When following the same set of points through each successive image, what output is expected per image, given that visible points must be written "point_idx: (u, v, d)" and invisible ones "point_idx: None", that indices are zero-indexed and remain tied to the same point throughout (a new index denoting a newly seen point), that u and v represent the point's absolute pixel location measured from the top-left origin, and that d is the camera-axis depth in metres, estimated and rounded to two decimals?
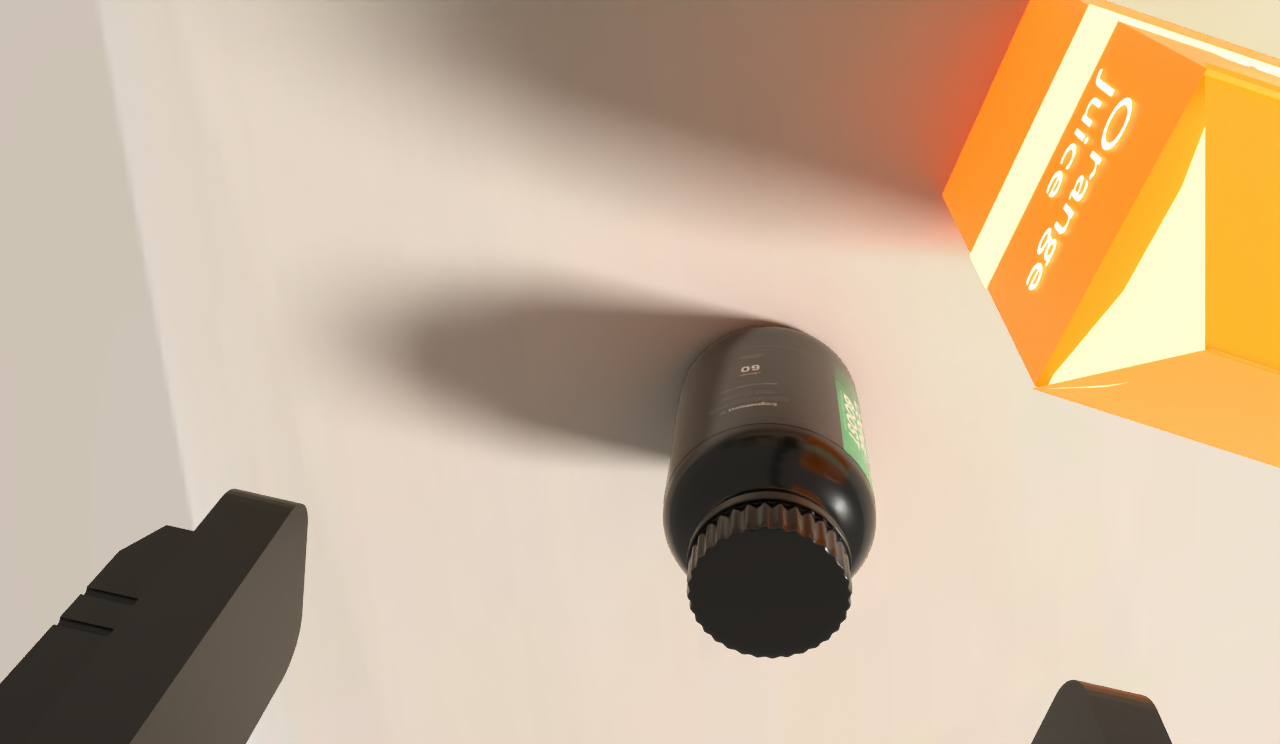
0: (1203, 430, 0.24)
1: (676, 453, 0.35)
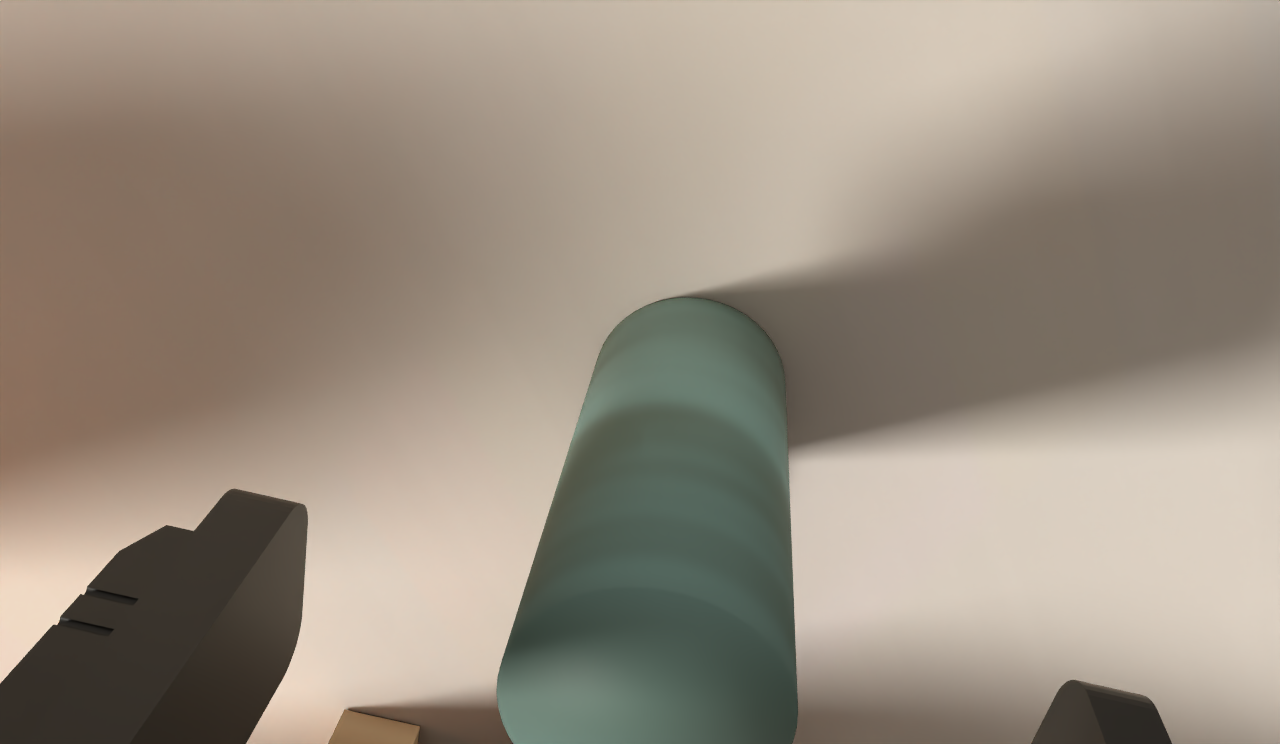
0: None
1: None
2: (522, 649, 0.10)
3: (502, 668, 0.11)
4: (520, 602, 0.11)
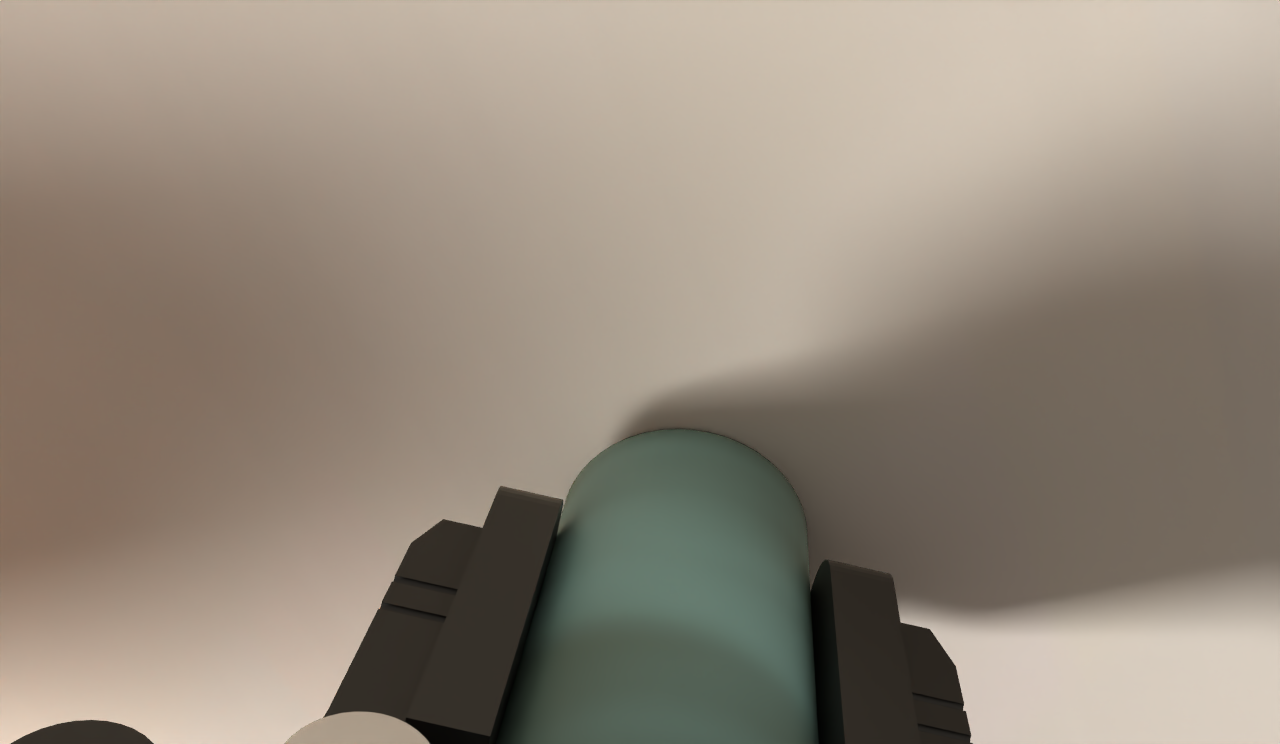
0: None
1: None
2: None
3: None
4: None
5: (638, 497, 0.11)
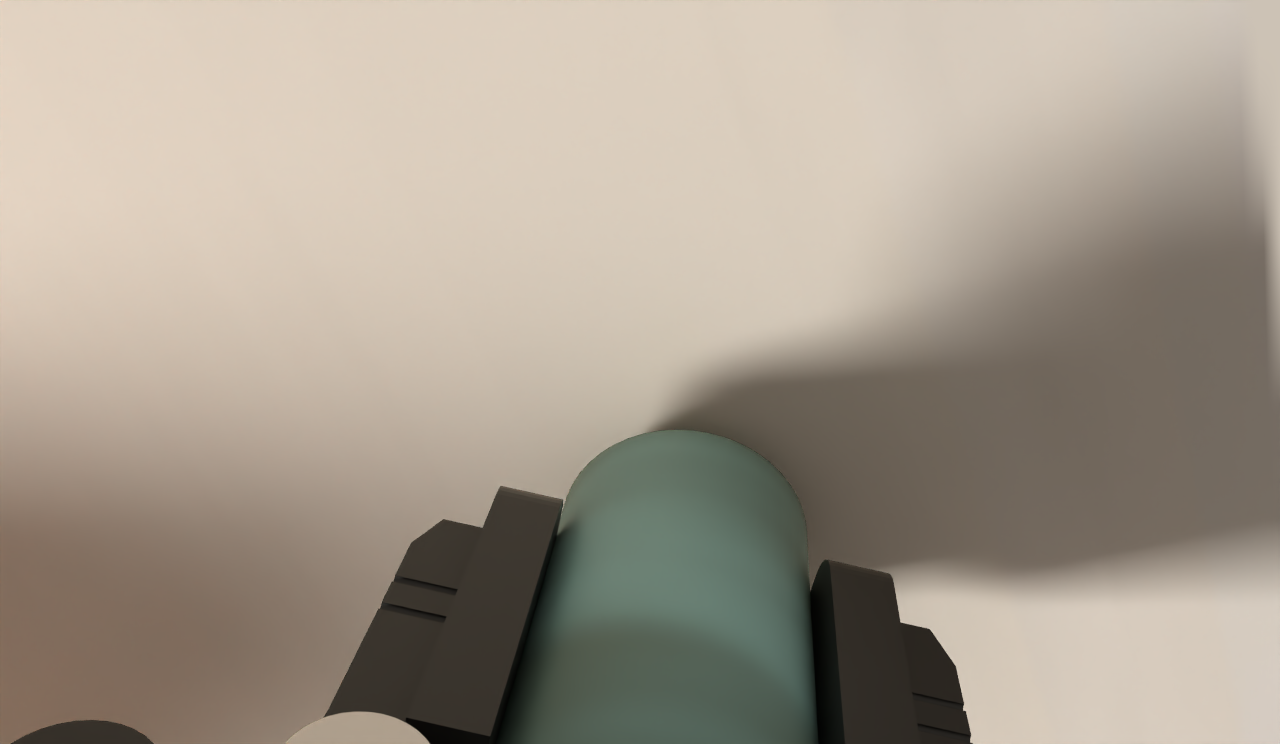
0: None
1: None
2: None
3: None
4: None
5: (638, 497, 0.11)
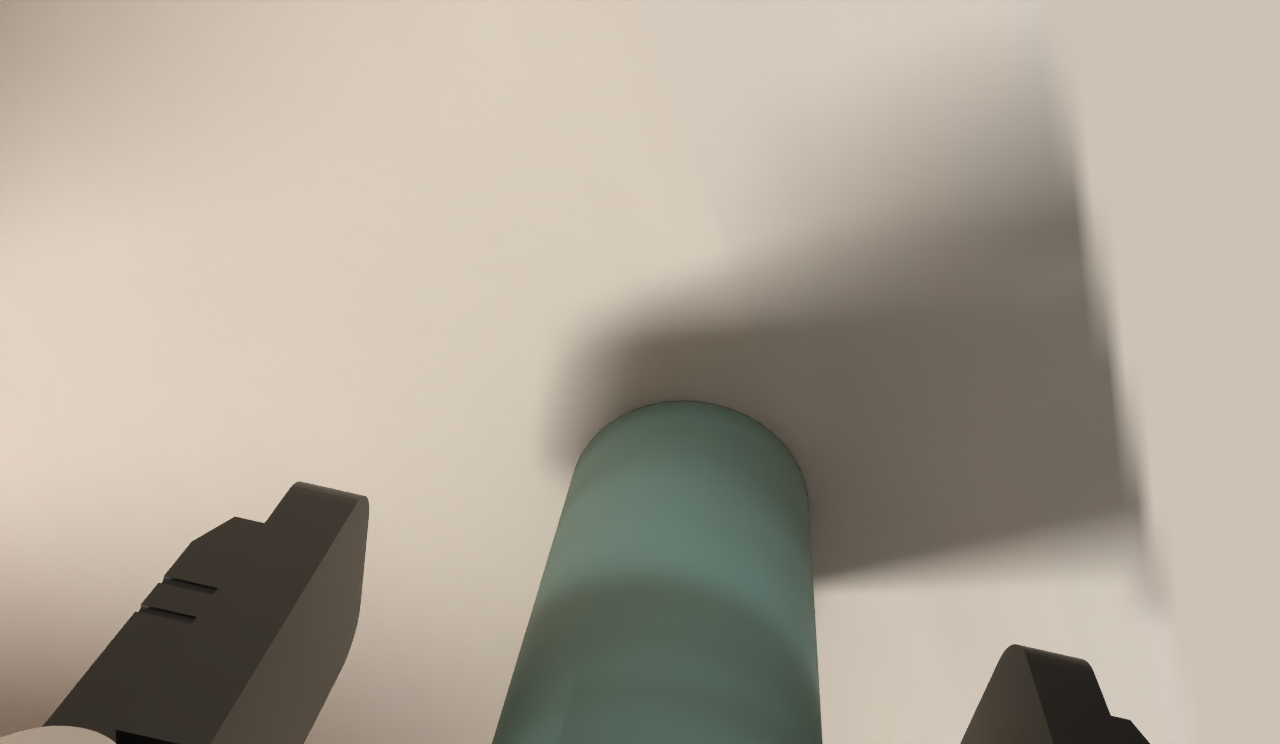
0: None
1: None
2: None
3: None
4: None
5: (645, 464, 0.12)
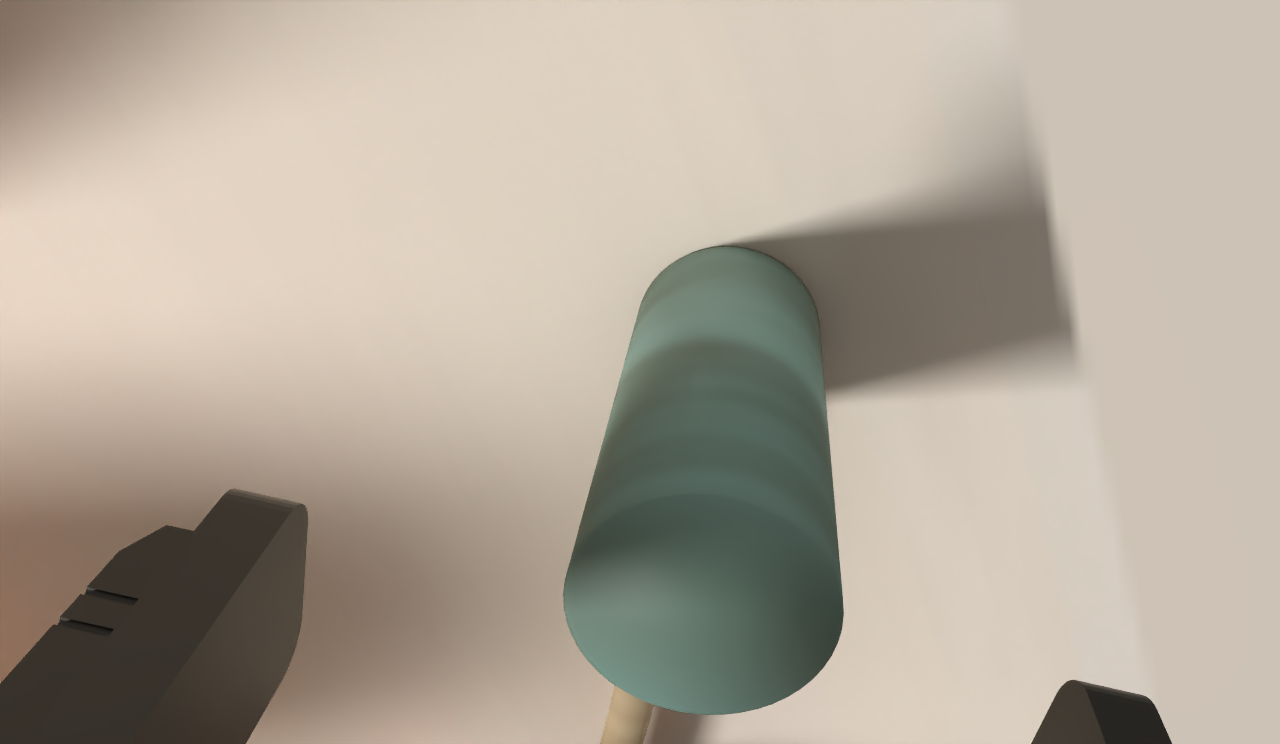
0: None
1: None
2: (589, 553, 0.11)
3: (569, 571, 0.11)
4: None
5: (700, 282, 0.16)
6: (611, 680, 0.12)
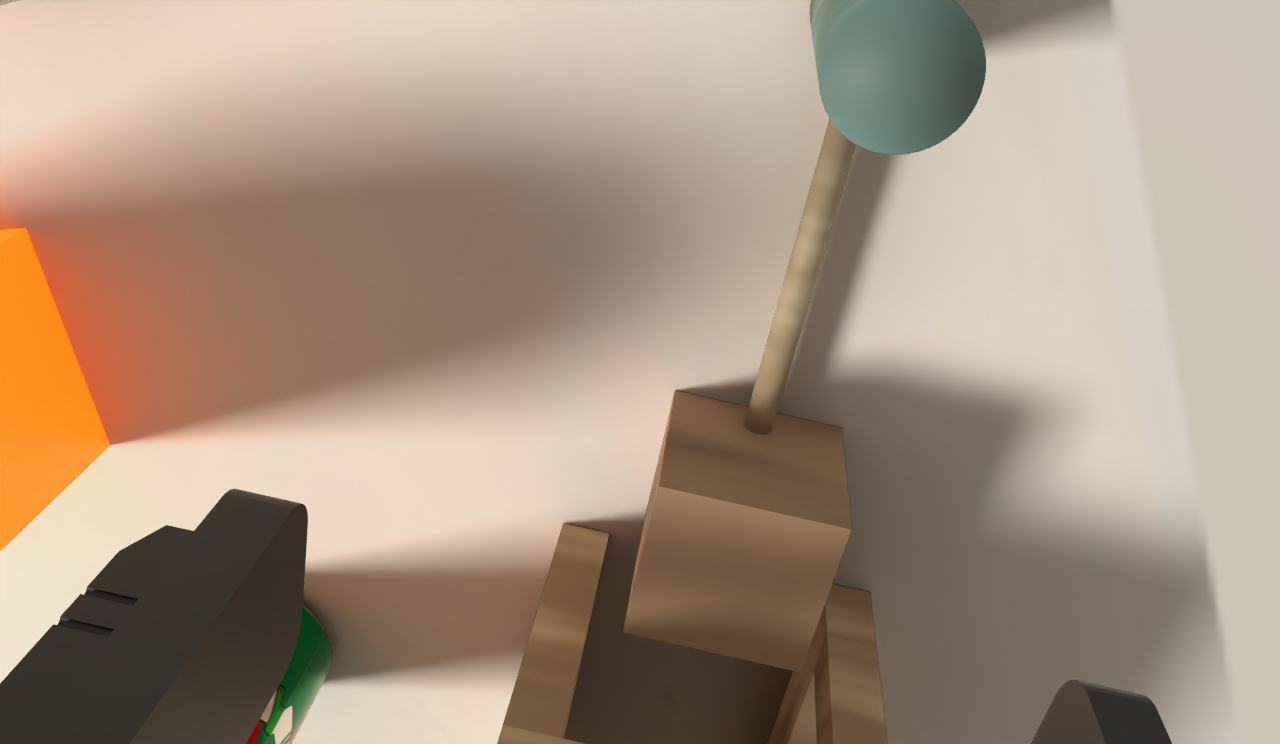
0: None
1: None
2: (838, 37, 0.20)
3: (825, 51, 0.20)
4: (823, 37, 0.21)
5: None
6: (842, 132, 0.20)
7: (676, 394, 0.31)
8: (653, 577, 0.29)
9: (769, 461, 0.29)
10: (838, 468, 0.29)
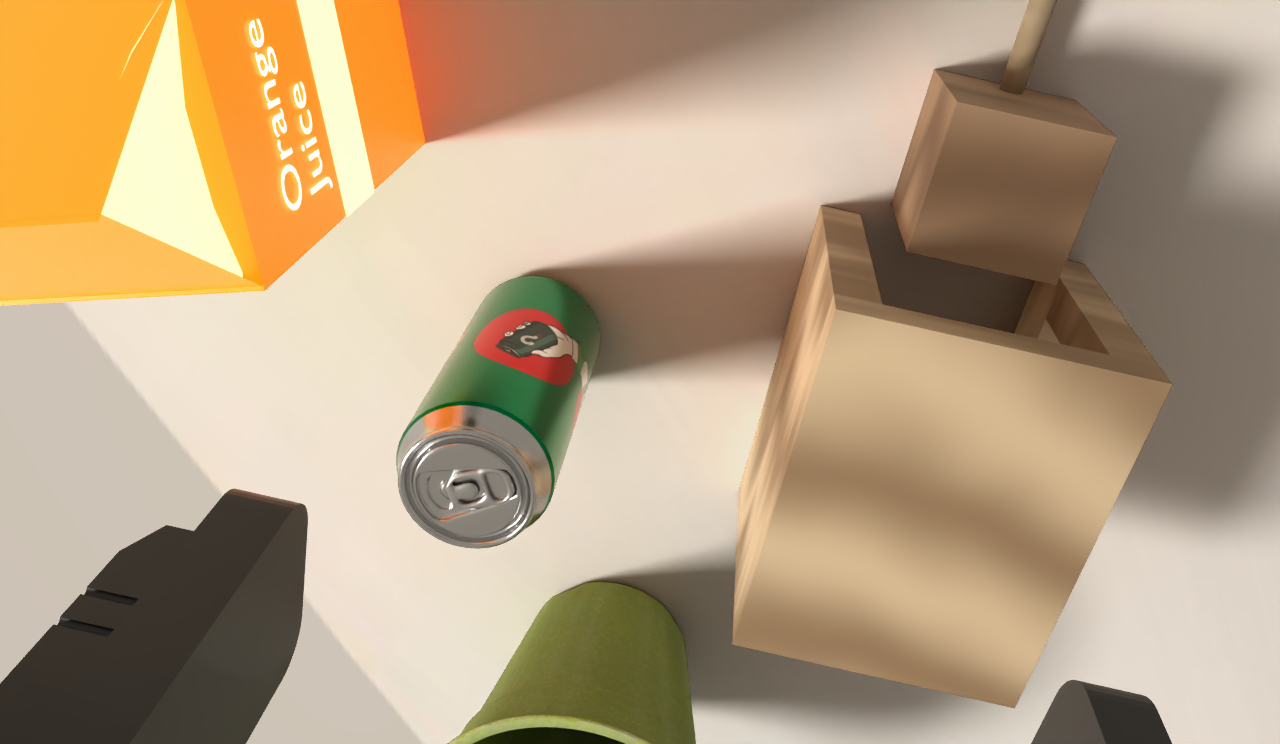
0: (24, 26, 0.24)
1: None
2: None
3: None
4: None
5: None
6: None
7: (936, 70, 0.37)
8: (940, 193, 0.34)
9: (1031, 104, 0.35)
10: (1086, 114, 0.35)
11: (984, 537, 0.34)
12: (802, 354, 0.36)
